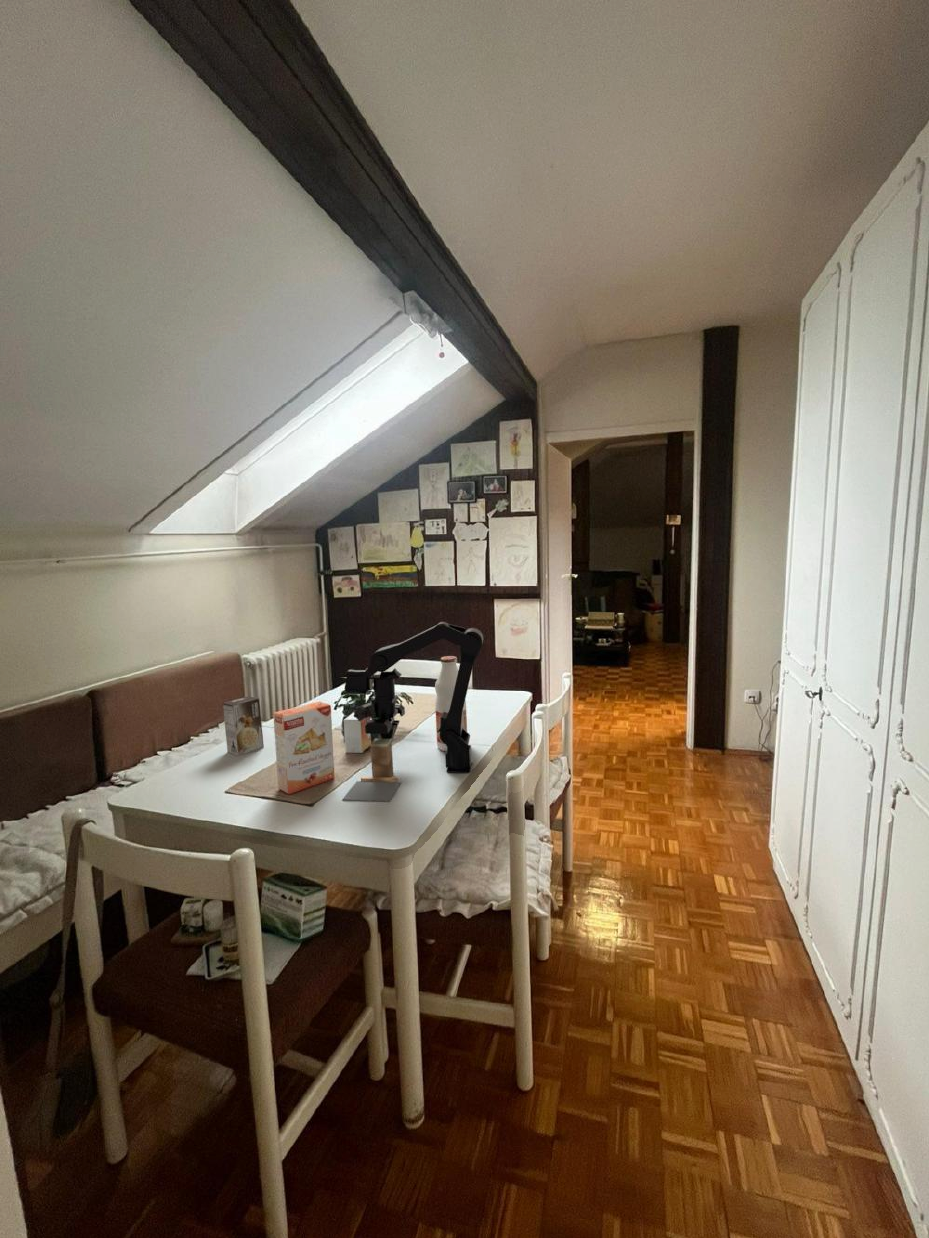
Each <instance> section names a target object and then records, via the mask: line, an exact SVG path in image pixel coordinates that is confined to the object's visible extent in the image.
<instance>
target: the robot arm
mask: <svg viewBox="0 0 929 1238" xmlns="http://www.w3.org/2000/svg"><path fill="white" fill-rule="evenodd" d="M439 640H445V641H447V642H450V643H451V644H454V645H457V646H460V650H459V653H460V654H459V656H460V657H459V658H460V660H459V666H458V675H457V679H456V684H455V688H454V692H453V697H452V701H451V706H450V709H449V712H448V713H446V712H443V714H442V716H441V724H440V726H439V729H438V732H440V739H441V741H442V742H443V743H444V744H446V746H447V751H445V753H444V755H445V757H444V758H445V760H444V761H445V768H446V773H466V774H467V773H471V770H472V768H473V765H474V763H473V762H472V745H471V744H470V740H471V739H470V738H471V734H470V733H468V731H467V732H466V731H465V730H464V729H463V728H462V727H463V707H464V703H465V700H466V698H467V693H468V690H469V685H470V681H471V676H472V672H473V668H474V664H475V662H476V660H477V657H478V655H479V652H480V650H481V649H482V646H483V643H484V634H483V633H482V631H481V630H479V629H478V628H476V627H470V628H466V627H462V626H460V625H459V626H458V625H454V624H450V623H448V622H445V621H440V622H439V623H437V624H436V625H434V626H432V627H430V628H428V629H426V630H423V631H422V632H420V633H417V634H416V635H414V636H412V637H410V638H408V639H406V640H403V641H402V642H399V643H394V644H390V645H387V646H383V647H380V648H379V649H377V650H376V651H375V652H373V654H371V656H370V660H369V661H370V662H369V663H370V664H369V666H368V667H367V668H366V669H363V670H362V669H357V670H356V669H349V670H347V671H346V677H345V683H344V690H345V694H346V695H349V696H350V695H356V696H357V695H368V694H370V691H372V690H373V698H372V699H371V701H370V702H367V703H365V704H363V705H359V706H356V707H355V708H354V710H353V712H354V717H355V718H357V719H358V721H361V720H362V719H364V718H367V717H371V719H370V721H369V722H368V723H367V725H366V726H365V733H366V734H371V735H379V736H380V739H391V740H392V741H393V740H394V737H395V734H396V731H397V729H398V726H399V724H400V722H401V721H400V720H395V717H396V716H397V715H398V714H399V716H400V717H404V715H406V708H405V706H404V705H402V704H396V700H397V699H398V695H396V691H395V690H396V688H395V680H396V679H397V680H398V679H400V677H402V673H401V672H400V671H398V670H397V669H396V668H393V669H392V671H388V670H389V669H391V668H392V667H393V666H395V665H396V664H397V663H398V662H400V661H401V660H403V659H404V658H405V657H406V656H409V655H411V654H413V653H414V652H415V653H416V652H417V651H419V650H421V649H423V648H425V647H427V646H429V645H431V644H433V643H435V642H437V641H439ZM378 672H379V674H377V673H378Z"/></svg>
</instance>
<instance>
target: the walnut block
mask: <svg viewBox="0 0 929 1238" xmlns="http://www.w3.org/2000/svg"><path fill="white" fill-rule="evenodd" d="M392 743H393V740H391V739H382V738H374V739H373V741H371V744H370V757H371V774H372V776H371V777H387V778H393V775H394V763H393V762H394V761H393V760H394V759H393V745H392Z"/></svg>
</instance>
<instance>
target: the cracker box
mask: <svg viewBox="0 0 929 1238" xmlns="http://www.w3.org/2000/svg"><path fill="white" fill-rule="evenodd" d="M272 716H273V729H274V730H273V731H274V746H275V757H276V758H275V761H276V770H277V771H276V773H277V774H276V775H277V787H278V788H277V789H279V790H280V791H282V792H284V793H286V794H287V795H291V794H295V793H297V792H299V791H302V790H304V789H305V790H306V789H308V788H310V787H313V786H316V785H319V784H322V783H325V782H328V781H331V780H334V779H335V759H334V745H333V744H334V743H333V742H334V741H333V739H334V738H333V726H332V725H333V724H332V705H331V704H329V703H325V702H322V701H315V702H312V703H308V704H304V705H299V706H296V707H291V708H287V709H286V708H285V709H283V710H279V711H275V712H273V714H272Z"/></svg>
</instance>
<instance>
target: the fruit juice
mask: <svg viewBox="0 0 929 1238" xmlns="http://www.w3.org/2000/svg"><path fill="white" fill-rule="evenodd" d="M457 663H458V658H457V656H454V655H447V656H442V657H440V664H441V669H440V672H439V676H438V678H437V679H436V681H435V685H434V690H435V693H436V699H435V705H434V707H435V710H434V711H435V727H436V747H437V748H438V749H439V750H440V751H444V752H446V751H447V746H446V744H444V743H443V742H442V741H441V739H440V732H438V729H439V726H440V724H441V716H442V714H443V712H446V713H448V712H449V709H450V706H451V701H452V697H453V692H454V688H455V684H456V679H457V675H458V670H459V668H458V667H457ZM467 720H468V719H467V701H466V699H465V703H464V707H463V727H462V728H463V729H464V730H465V731H466V732H467V733H468V721H467Z"/></svg>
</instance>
